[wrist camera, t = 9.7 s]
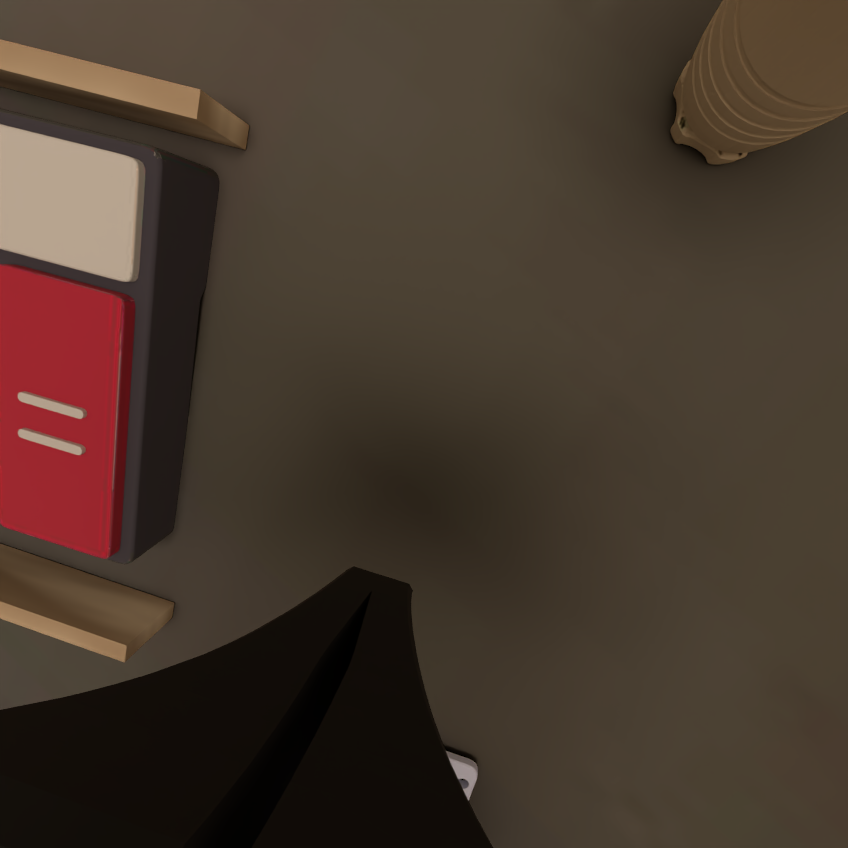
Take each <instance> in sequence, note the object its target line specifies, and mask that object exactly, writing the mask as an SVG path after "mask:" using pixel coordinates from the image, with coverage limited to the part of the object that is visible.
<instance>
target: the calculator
mask: <svg viewBox="0 0 848 848" xmlns="http://www.w3.org/2000/svg"><path fill="white" fill-rule="evenodd" d="M218 191H219V178H218V175H217V174H216V172H215V171H214V170H212V169H210V168H208V167H205V166H202V165H200V164H197V163H195V162H192V161H190V160H187V159H184V158H182V157H179V156H177V155H174V154H172V153H169V152H166V151H163V150H161V149H158V148H155V147H152V146H149V145H146V144H142V143H138V142H134V141H130V140H126V139H122V138H118V137H114V136H110V135H105V134H101V133H97V132H93V131H89V130H85V129H81V128H77V127H73V126H69V125H65V124H60V123H56V122H52V121H48V120H44V119H40V118H36V117H32V116H28V115H24V114H19V113H15V112H11V111H7V110H3V109H0V525H2V526H4V527H6V528H8V529H12V530H15V531H18V532H21V533H24V534H27V535H30V536H33V537H36V538H40V539H43V540H46V541H49V542H52V543H55V544H58V545H61V546H64V547H68V548H71V549H74V550H77V551H80V552H83V553H86V554H89V555H92V556H96V557H99V558H104V559H108V560H111V561H114V562H117V563H121V564H128V563H131V562H132V561H134V560H135V559H136V558H138V557H139V556H140V555H142V554H143V553H145V552H146V551H147V550H149V549H150V548H151V547H153V546H154V545H155V544H157V543H158V542H159V541H161V540H162V539H163V538H165V537H166V536H167V535H169V534H170V533H171V532H172V531H173V528H174V522H175V515H176V507H177V500H178V492H179V485H180V477H181V469H182V462H183V454H184V446H185V439H186V431H187V423H188V413H189V404H190V394H191V384H192V374H193V364H194V355H195V345H196V335H197V325H198V316H199V306H200V299H201V297H202V294H203V292H204V290H205V288H206V282H207V275H208V267H209V260H210V252H211V245H212V237H213V230H214V222H215V214H216V207H217V199H218Z"/></svg>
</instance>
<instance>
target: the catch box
mask: <svg viewBox="0 0 848 848" xmlns="http://www.w3.org/2000/svg"><path fill="white" fill-rule="evenodd" d="M0 87H4V88H8V89H12V90H16V91H20V92H24V93H27V94H31V95H35V96H39V97H43V98H47V99H51V100H54V101H58V102H62V103H66V104H70V105H74V106H78V107H81V108H85V109H89V110H93V111H97V112H101V113H105V114H108V115H112V116H116V117H120V118H124V119H128V120H132V121H135V122H139V123H143V124H147V125H151V126H155V127H159V128H162V129H166V130H170V131H174V132H178V133H182V134H186V135H189V136H193V137H197V138H201V139H205V140H209V141H213V142H216V143H220V144H224V145H228V146H232V147H236V148H240V149H243V150H246V144H247V138H248V132H249V125H248V124H246V123H245V122H244V121H242V120H241V119H240V118H238V117H237V116H236V115H234V114H233V113H231V112H230V111H229V110H227V109H226V108H225V107H223V106H222V105H221V104H219V103H218V102H217V101H215V100H214V99H212V98H211V97H210V96H208V95H207V94H206V93H204V92H203V91H202V90H200V89H196V88H192V87H188V86H184V85H180V84H176V83H172V82H168V81H164V80H160V79H156V78H152V77H148V76H144V75H140V74H136V73H132V72H128V71H124V70H120V69H116V68H112V67H108V66H104V65H100V64H96V63H92V62H88V61H84V60H80V59H76V58H72V57H68V56H64V55H60V54H56V53H52V52H48V51H44V50H40V49H36V48H32V47H28V46H24V45H20V44H16V43H12V42H8V41H4V40H0ZM173 609H174V602H171V601H168V600H165V599H162V598H159V597H156V596H153V595H150V594H147V593H144V592H141V591H138V590H135V589H133V588H130V587H127V586H124V585H121V584H118V583H115V582H112V581H109V580H106V579H103V578H100V577H97V576H94V575H91V574H88V573H85V572H83V571H80V570H77V569H74V568H71V567H68V566H65V565H62V564H59V563H56V562H53V561H50V560H47V559H44V558H41V557H38V556H36V555H33V554H30V553H27V552H24V551H21V550H18V549H15V548H12V547H9V546H6V545H3V544H0V618H1V619H3V620H6V621H9V622H12V623H15V624H17V625H20V626H23V627H26V628H29V629H32V630H34V631H37V632H40V633H43V634H46V635H49V636H51V637H54V638H57V639H60V640H63V641H66V642H68V643H71V644H74V645H77V646H80V647H83V648H85V649H88V650H91V651H94V652H97V653H100V654H102V655H105V656H108V657H111V658H114V659H116V660H119V661H122V662H125V661H127V660H128V659H129V658H130V657H131V656H132V655H133V654H134V653H135V652H136V651H137V650H138V649H139V648H140V647H141V646H142V645H144V644H145V643H146V642H147V641H148V640H149V639H150V638H151V637H152V636H153V635H154V634H155V633H156V632H157V631H158V630H160V629H161V628H162V627H163V626H164V625H165V624H166V623H167V622H168V621H169V620H170V619H171V618H172V615H173Z"/></svg>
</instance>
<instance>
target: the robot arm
mask: <svg viewBox="0 0 848 848" xmlns="http://www.w3.org/2000/svg"><path fill="white" fill-rule="evenodd" d="M412 591H413V590H412V588H411V587H410V585H409V584H407V583H404V582H401V581H398V580H395V579H392V578H389V577H385V576H382V575H379V574H376V573H373V572H370V571H366V570H363V569H360V568H357V567H352V568H350V569H348V570H346V571H345V572H344V573H342V574H341V575H340V576H339V577H337V578H336V579H335V580H333V581H332V582H331V583H329V584H328V585H327V586H325V587H324V588H322V589H321V590H319V591H318V592H317V593H315V594H314V595H312V596H311V597H309V598H308V599H306V600H305V601H303V602H302V603H300V604H299V605H297V606H295V607H294V608H292V609H291V610H289V611H288V612H286V613H284V614H283V615H281V616H279V617H277V618H276V619H274V620H272V621H270V622H269V623H267V624H265V625H263V626H262V627H260V628H258V629H256V630H254V631H253V632H251V633H249V634H247V635H245V636H243V637H241V638H239V639H237V640H235V641H233V642H231V643H228V644H226V645H224V646H222V647H220V648H217V649H215V650H213V651H211V652H208V653H206V654H204V655H201V656H198V657H196V658H193V659H190V660H187V661H184V662H182V663H179V664H176V665H173V666H171V667H168V668H165V669H162V670H160V671H157V672H154V673H151V674H148V675H145V676H142V677H138V678H135V679H131V680H128V681H125V682H121V683H118V684H114V685H110V686H107V687H103V688H99V689H95V690H92V691H88V692H84V693H80V694H75V695H71V696H67V697H63V698H58V699H53V700H48V701H43V702H38V703H33V704H28V705H23V706H18V707H13V708H8V709H3V710H0V848H493V847H492V845H491V843H490V841H489V839H488V838H487V836H486V834H485V832H484V830H483V828H482V827H481V825H480V823H479V821H478V819H477V818H476V816H475V813H474V811H473V809H472V807H471V805H470V803H469V799H470V796H471V793H472V791H473V788H474V785H475V782H476V780H477V775H478V767H477V764H476V763H475V762H474V761H472V760H471V759H468V758H465V757H463V756H460V755H457V754H454V753H451V752H448V751H446V750H445V748H444V745H443V743H442V740H441V738H440V735H439V732H438V729H437V726H436V724H435V721H434V718H433V715H432V712H431V709H430V706H429V702H428V699H427V695H426V692H425V688H424V684H423V680H422V676H421V672H420V668H419V663H418V658H417V653H416V647H415V641H414V635H413V627H412V616H411V597H412ZM461 779H465V781H464V780H461Z"/></svg>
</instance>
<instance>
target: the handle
mask: <svg viewBox="0 0 848 848" xmlns="http://www.w3.org/2000/svg"><path fill="white" fill-rule="evenodd" d="M673 95H674V98H675V99H676V103H677V113H676V118H675V122H674V124H673V126H672V127H671V130H670V132H671V135H672V138H673V139H674V141H675V143H677V144H685V145H689V146H691V147H693V148H695V149H697V150H698V151H699V152H701V153H702V154H703V155H704V156H705V157H706V160H707V162H708V163H710V164H717V165H719V164H725V163H731V162H734V161H736V160H739V159H741V158H743V157H746V156H747V154H748V152H753V151H756V150H760V149H763V148H767V147H770V146H773V145H776V144H779V143H782V142H784V141H787V140H789V139H792V138H794V137H796V136H798V135H801V134H803V133H805V132H807V131H809V130H811V129H814V128H816V127H818V126H820V125H822V124H824V123H826V122H829V121H831V120H833V119H835V118H837V117H838V116H840V115H843V114H845V113H846V112H848V0H723V1H722V2H721V4H720V6H719V7H718V9H717V11H716V13H715V14H714V16H713V17H712V19H711V21H710V23H709V24H708V26H707V28H706V30H705V31H704V33H703V35H702V37H701V39H700V41H699V44H698V46H697V48H696V50H695V52H694V54H693V56H692V59H691V60H690V61H688V63H687V65H686V66H685V68H684V69H683V71H682V73H681V75H680V77H679V79H678V81H677V83H676V86H675V89H674V91H673Z"/></svg>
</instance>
